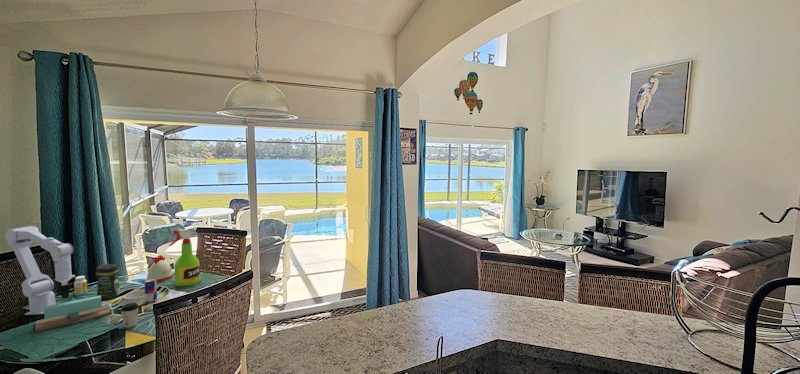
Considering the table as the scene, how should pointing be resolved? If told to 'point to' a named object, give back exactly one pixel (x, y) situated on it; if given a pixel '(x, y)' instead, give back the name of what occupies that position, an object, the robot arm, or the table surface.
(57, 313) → the batten
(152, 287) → the energy drink
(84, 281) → the supplement bottle
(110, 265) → the coffee jar
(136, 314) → the coffee cup
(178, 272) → the spray bottle
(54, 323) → the balance board
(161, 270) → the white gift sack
